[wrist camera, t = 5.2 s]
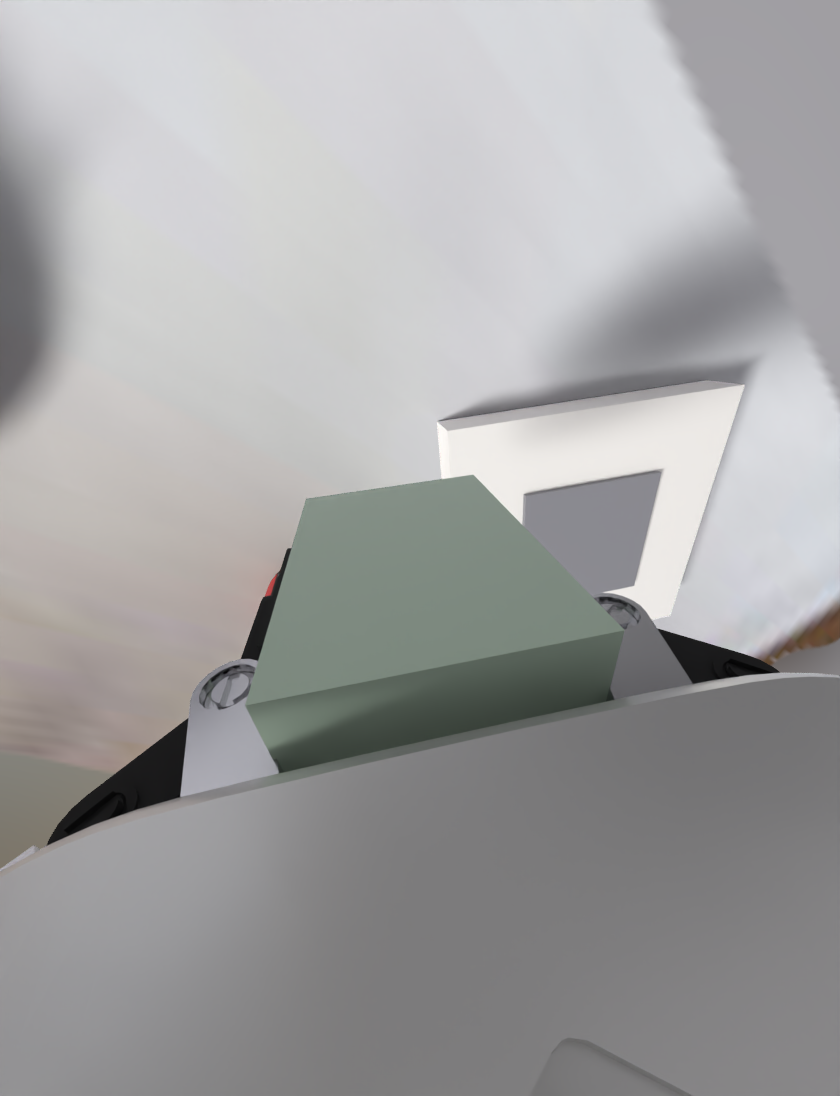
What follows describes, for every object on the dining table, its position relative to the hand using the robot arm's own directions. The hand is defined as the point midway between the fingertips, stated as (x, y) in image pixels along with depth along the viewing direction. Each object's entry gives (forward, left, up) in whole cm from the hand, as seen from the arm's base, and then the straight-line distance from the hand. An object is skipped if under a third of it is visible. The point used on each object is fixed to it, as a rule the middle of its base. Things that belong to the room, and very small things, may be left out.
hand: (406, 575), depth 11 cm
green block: (0, 0, -1) cm, 1 cm away
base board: (+9, +14, -16) cm, 23 cm away
